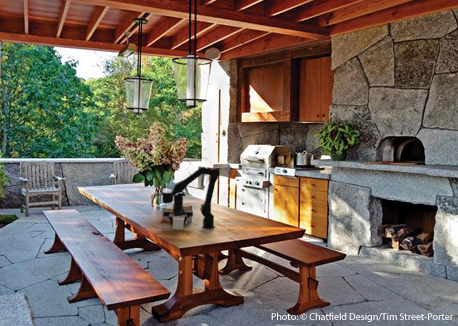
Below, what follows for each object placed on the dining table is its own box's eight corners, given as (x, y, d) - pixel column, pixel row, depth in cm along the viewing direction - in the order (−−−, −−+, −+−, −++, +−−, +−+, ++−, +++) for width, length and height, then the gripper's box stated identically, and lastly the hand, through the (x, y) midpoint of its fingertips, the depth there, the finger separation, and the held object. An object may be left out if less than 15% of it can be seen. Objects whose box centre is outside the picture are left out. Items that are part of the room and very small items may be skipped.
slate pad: (174, 227, 273) (174, 226, 273) (164, 230, 265) (164, 229, 265) (165, 225, 278) (165, 224, 278) (155, 227, 271) (155, 227, 271)
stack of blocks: (162, 220, 294) (162, 203, 293) (167, 219, 299) (167, 202, 298) (186, 224, 283) (187, 206, 282) (192, 222, 289) (192, 205, 288)
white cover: (183, 227, 274) (184, 218, 273) (183, 229, 267) (183, 220, 266) (173, 226, 273) (174, 217, 273) (172, 229, 267) (173, 219, 266)
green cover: (186, 224, 283) (187, 215, 282) (181, 226, 277) (181, 217, 276) (178, 223, 286) (178, 214, 286) (172, 224, 280) (172, 216, 280)
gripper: (162, 205, 260) (162, 229, 262) (192, 205, 261) (192, 229, 262) (164, 201, 271) (164, 225, 273) (193, 202, 272) (192, 225, 274)
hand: (178, 226), depth 270 cm, fingers closed on white cover, 7 cm apart
